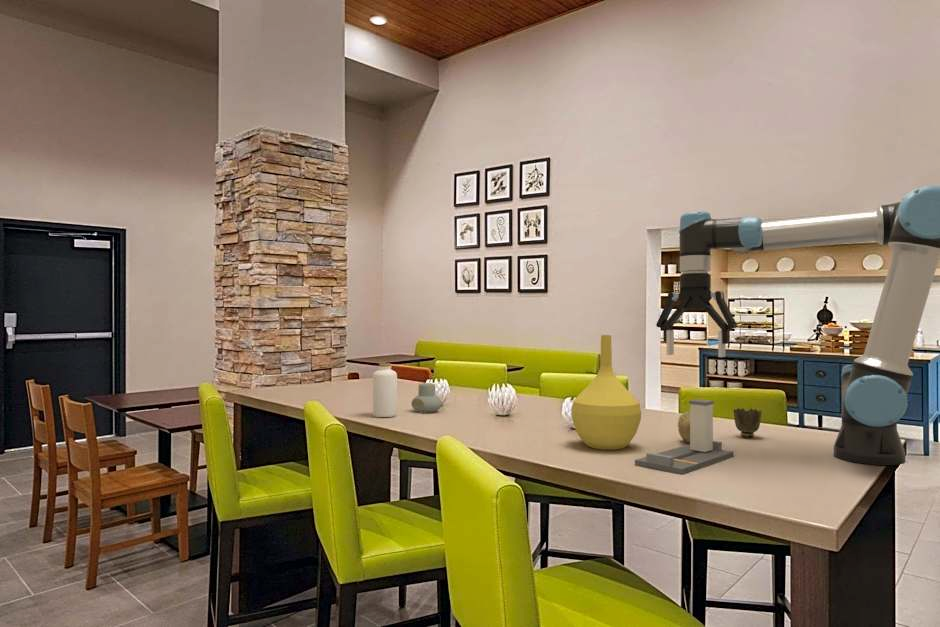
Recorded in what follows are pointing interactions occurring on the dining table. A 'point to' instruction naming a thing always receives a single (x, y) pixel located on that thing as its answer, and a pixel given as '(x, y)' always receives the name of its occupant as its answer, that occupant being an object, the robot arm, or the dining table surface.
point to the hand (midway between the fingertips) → (695, 356)
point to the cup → (747, 421)
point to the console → (684, 459)
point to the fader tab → (701, 425)
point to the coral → (684, 426)
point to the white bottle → (384, 391)
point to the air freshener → (426, 399)
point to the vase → (606, 408)
